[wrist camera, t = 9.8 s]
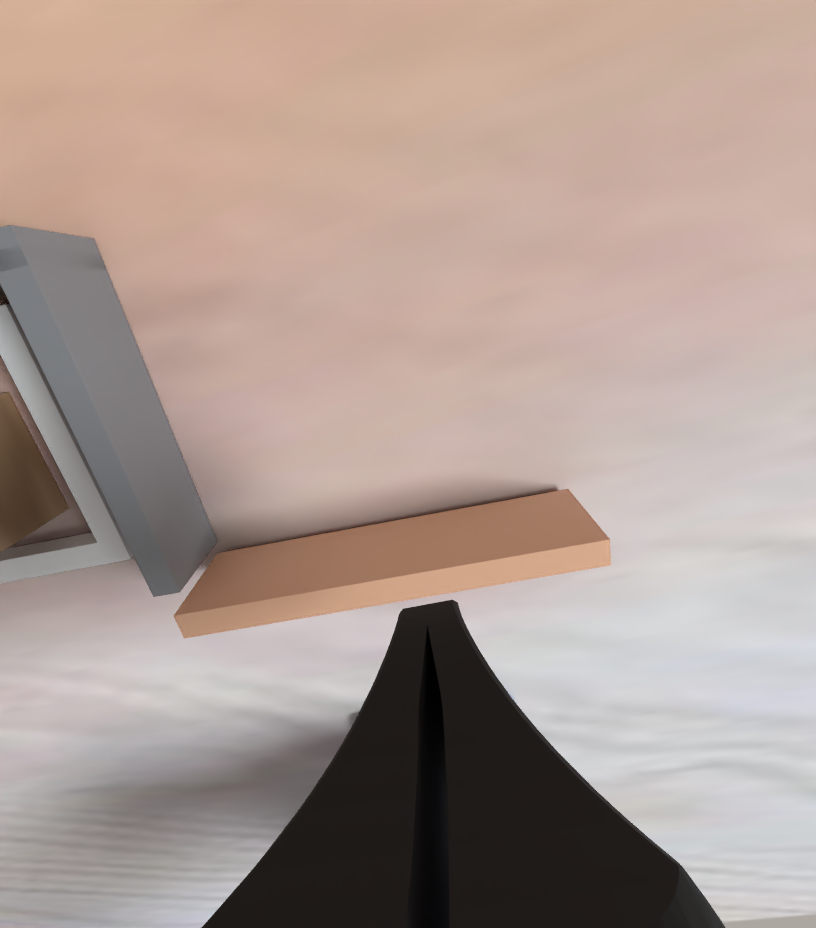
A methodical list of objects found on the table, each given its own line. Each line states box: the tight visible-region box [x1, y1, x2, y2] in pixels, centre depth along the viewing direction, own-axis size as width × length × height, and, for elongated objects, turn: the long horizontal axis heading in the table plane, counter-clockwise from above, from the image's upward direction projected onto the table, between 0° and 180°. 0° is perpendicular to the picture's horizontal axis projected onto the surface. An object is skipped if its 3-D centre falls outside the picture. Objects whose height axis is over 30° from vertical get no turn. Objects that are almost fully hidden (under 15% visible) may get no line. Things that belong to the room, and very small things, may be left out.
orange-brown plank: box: [174, 489, 611, 638], centre depth 17 cm, size 1×15×4 cm, turn 102°
